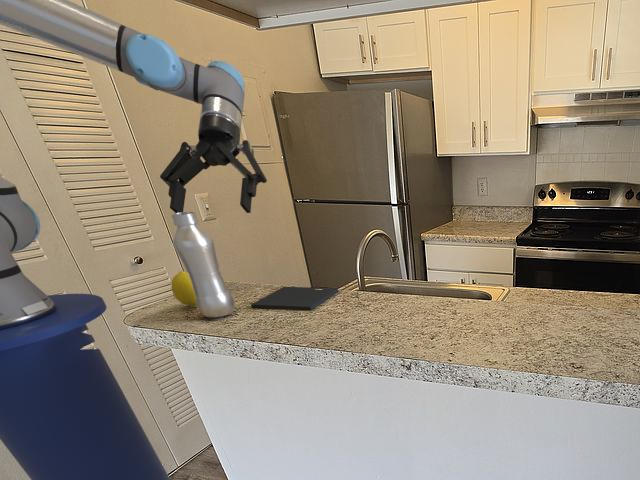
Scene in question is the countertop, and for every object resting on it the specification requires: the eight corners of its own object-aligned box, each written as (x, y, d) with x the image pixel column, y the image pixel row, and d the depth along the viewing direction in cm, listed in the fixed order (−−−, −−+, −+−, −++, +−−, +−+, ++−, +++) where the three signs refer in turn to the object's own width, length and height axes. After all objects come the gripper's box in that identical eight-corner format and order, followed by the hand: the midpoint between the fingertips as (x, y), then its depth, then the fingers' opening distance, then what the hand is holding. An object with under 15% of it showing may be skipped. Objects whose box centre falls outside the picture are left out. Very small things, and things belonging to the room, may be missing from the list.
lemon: (174, 312, 85) (158, 275, 82) (190, 303, 90) (176, 267, 86) (200, 311, 85) (186, 274, 82) (215, 302, 90) (202, 267, 86)
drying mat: (251, 307, 86) (250, 304, 86) (284, 289, 97) (283, 286, 96) (311, 310, 84) (310, 306, 84) (338, 291, 94) (338, 288, 94)
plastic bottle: (216, 323, 79) (176, 217, 70) (194, 318, 82) (153, 215, 72) (245, 311, 84) (211, 211, 75) (223, 307, 87) (188, 210, 77)
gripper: (286, 139, 93) (281, 218, 87) (172, 143, 91) (160, 224, 85) (271, 111, 85) (265, 195, 80) (148, 114, 84) (132, 200, 78)
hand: (210, 210), depth 82 cm, fingers open, 13 cm apart
